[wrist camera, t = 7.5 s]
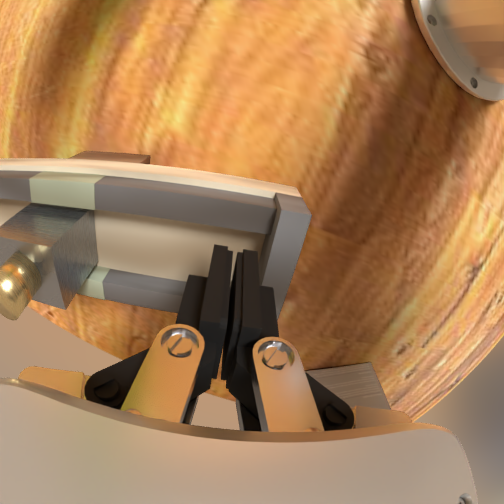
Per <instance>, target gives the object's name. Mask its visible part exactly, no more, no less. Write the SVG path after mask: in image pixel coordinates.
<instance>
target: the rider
mask: <svg viewBox="0 0 504 504" xmlns="http://www.w3.org/2000/svg"><path fill="white" fill-rule="evenodd" d="M97 262H98V253H97V244H96V233H95V219H94V210H90V209H82V208H74V207H66V206H58V205H49V204H41V203H30V204H29V205H27V206H26V207H25V208H23V209H22V210H21V211H19V212H18V213H17V214H15V215H14V216H13V217H11V218H10V219H9V220H7V221H6V222H5V223H4V224H2V225H1V226H0V313H1V314H2V315H3V316H4V317H6V318H8V319H10V320H17V319H18V318H19V316H20V314H21V313H22V312H23V310H24V309H25V307H26V306H27V305H28V303H29V302H30V301H31V299H32V300H35V301H38V302H41V303H44V304H48V305H51V306H54V307H58V308H61V309H65V310H66V309H67V307H68V306H69V304H70V302H71V301H72V299H73V298H74V296H75V294H76V293H77V291H78V290H79V288H80V287H81V285H82V284H83V282H84V281H85V279H86V278H87V276H88V275H89V274H90V272H91V271H92V269H93V268H94V266H95V265H96V264H97Z"/></svg>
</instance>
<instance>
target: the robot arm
mask: <svg viewBox="0 0 504 504" xmlns="http://www.w3.org/2000/svg"><path fill="white" fill-rule="evenodd" d="M411 3H412V7H413V10H414V14H415V18H416V20H417V23H418V25H419V28H420V30H421V33H422V35H423V37H424V38H425V40H426V42H427V44H428V46H429V48H430V50H431V51H432V53H433V54H434V56H435V58H436V59H437V61H438V62H439V64H440V65H441V66H442V67H443V69H444V70H445V71H446V73H447V74H448V75H449V76H450V77H451V78H452V79H453V80H454V81H455V82H456V83H457V84H458V85H459V86H460V87H461V88H463V89H464V90H465V91H466V92H468V93H469V94H471V95H473V96H475V97H477V98H481V99H484V100H490V101H500V100H504V0H411ZM232 260H233V251H230V250H228V246H222V245H216V244H214V248H213V253H212V258H211V263H210V268H209V274H208V277H203V276H196V275H190V274H189V276H188V279H187V282H186V286H185V290H184V293H183V297H182V301H181V304H180V308H179V312H178V316H177V320H176V324H172V325H169V326H166V327H164V328H163V329H161V330H160V331H159V333H158V334H157V336H156V338H155V340H154V341H153V343H152V345H151V347H150V348H149V349H147V350H144V351H142V352H140V353H138V354H136V355H134V356H132V357H129V358H127V359H125V360H123V361H121V362H118V363H116V364H114V365H112V366H110V367H107V368H105V369H103V370H101V371H98V372H96V373H95V374H93V375H92V376H86V375H84V373H82V372H73V371H65V370H57V369H49V368H43V367H36V366H34V367H28V368H26V369H24V370H23V371H22V372H21V373H20V375H19V377H18V379H14V378H0V504H478V499H477V493H476V488H475V483H474V480H473V476H472V472H471V469H470V465H469V462H468V459H467V457H466V454H465V452H464V449H463V447H462V445H461V443H460V441H459V439H458V438H457V436H456V435H455V434H454V433H453V432H451V431H450V430H448V429H446V428H444V427H441V426H437V425H432V424H427V423H412V420H411V419H410V417H409V416H408V415H407V414H406V413H404V412H401V411H396V410H387V409H378V408H371V407H364V406H357V405H356V406H355V407H354V408H353V407H350V406H349V405H348V404H347V403H346V402H345V401H343V400H342V399H340V398H339V397H338V396H336V395H335V394H334V393H332V392H331V391H330V390H328V389H327V388H326V387H324V386H323V385H322V384H321V383H319V382H318V381H317V380H315V379H314V378H313V377H311V376H310V375H309V374H308V373H306V372H305V371H304V368H303V365H302V362H301V359H300V356H299V353H298V351H297V349H296V348H295V347H294V346H293V345H292V344H291V343H290V342H288V341H286V340H285V339H282V338H279V333H278V324H277V314H276V305H275V297H274V289H273V287H268V286H261V285H260V282H259V264H258V251H253V250H247V249H243V252H237V256H236V261H235V266H234V271H233V276H232V281H231V272H232ZM230 284H231V286H230ZM222 349H223V356H222V370H221V380H226V388H227V389H229V392H230V393H231V394H232V395H233V396H234V397H235V398H236V408H237V413H238V420H239V427H240V430H229V429H219V428H210V427H202V426H194V425H191V421H192V418H193V414H194V411H195V408H196V404H197V401H198V396H199V395H200V394H202V393H204V392H205V391H207V390H208V389H210V384H211V379H212V378H213V379H216V378H217V373H218V368H219V363H220V358H221V353H222Z"/></svg>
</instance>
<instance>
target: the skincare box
mask: <svg viewBox="0 0 504 504" xmlns="http://www.w3.org/2000/svg"><path fill="white" fill-rule="evenodd" d="M305 372H306V373H308V374H309V375H310V376H311V377H313V378H314V379H315V380H317V381H318V382H319V383H321V384H322V385H323V386H324V387H326V388H327V389H328V390H330V391H331V392H332V393H334V394H335V395H336V396H338V397H339V398H340V399H342V400H343V401H345V402H346V403H347V404H348V405H349V406H350V407H353V408H354V407H355V406H356V405H357V406H364V407H371V408H378V409H387V410H391V408H390V406H389V403H388V401H387V398H386V396H385V394H384V391H383V389H382V387H381V384H380V382H379V380H378V378H377V375H376V373H375V371H374V369H373V367H372V364H371V362H368V363H362V364H356V365H349V366H343V367H335V368H328V369H319V370H310V371H305Z"/></svg>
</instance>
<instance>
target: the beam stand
mask: <svg viewBox="0 0 504 504" xmlns="http://www.w3.org/2000/svg"><path fill="white" fill-rule="evenodd" d="M30 203H41V204H49V205H58V206H66V207H74V208H82V209H90V210H94V219H95V233H96V244H97V253H98V262H97V264H96V265H95V266H94V268H93V269H92V271H91V272H90V274H89V275H88V276H87V278H86V279H85V281H84V282H83V284H82V285H81V287H80V288H79V290H78V291H77V294H81V295H85V296H89V297H94V298H98V299H103V300H105V299H106V300H111V301H116V302H120V303H125V304H130V305H135V306H141V307H146V308H151V309H157V310H162V311H168V312H174V313H178V312H179V308H180V304H181V301H182V297H183V293H184V290H185V286H186V282H187V279H188V276H189V274H190V275H196V276H203V277H208V274H209V268H210V263H211V258H212V253H213V248H214V244H216V245H222V246H228V250H230V251H233V260H232V272H231V281H232V276H233V271H234V266H235V261H236V256H237V252H243V249H247V250H253V251H258V264H259V282H260V285H261V286H268V287H273V289H274V297H275V305H276V314H277V320H278V317H279V314H280V311H281V309H282V306H283V303H284V300H285V297H286V294H287V291H288V288H289V285H290V282H291V279H292V276H293V273H294V270H295V267H296V264H297V261H298V258H299V255H300V252H301V249H302V246H303V243H304V239H305V236H306V233H307V230H308V227H309V223H310V220H311V217H312V215H311V213H310V211H309V209H308V207H307V206H306V204H305V202H304V200H303V198H302V197H301V195H300V193H299V192H298V190H297V188H296V187H293V186H288V185H283V184H277V183H272V182H267V181H262V180H256V179H250V178H245V177H239V176H233V175H226V174H220V173H213V172H207V171H199V170H192V169H185V168H177V167H168V166H159V165H150V155H139V154H126V153H112V152H93V151H84V152H82V153H80V154H77V155H75V156H73V157H71V158H69V159H60V158H3V159H0V226H1V225H2V224H4V223H5V222H6V221H7V220H9V219H10V218H11V217H13V216H14V215H15V214H17V213H18V212H19V211H21V210H22V209H23V208H25V207H26V206H27V205H29V204H30ZM230 286H231V284H230Z"/></svg>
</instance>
